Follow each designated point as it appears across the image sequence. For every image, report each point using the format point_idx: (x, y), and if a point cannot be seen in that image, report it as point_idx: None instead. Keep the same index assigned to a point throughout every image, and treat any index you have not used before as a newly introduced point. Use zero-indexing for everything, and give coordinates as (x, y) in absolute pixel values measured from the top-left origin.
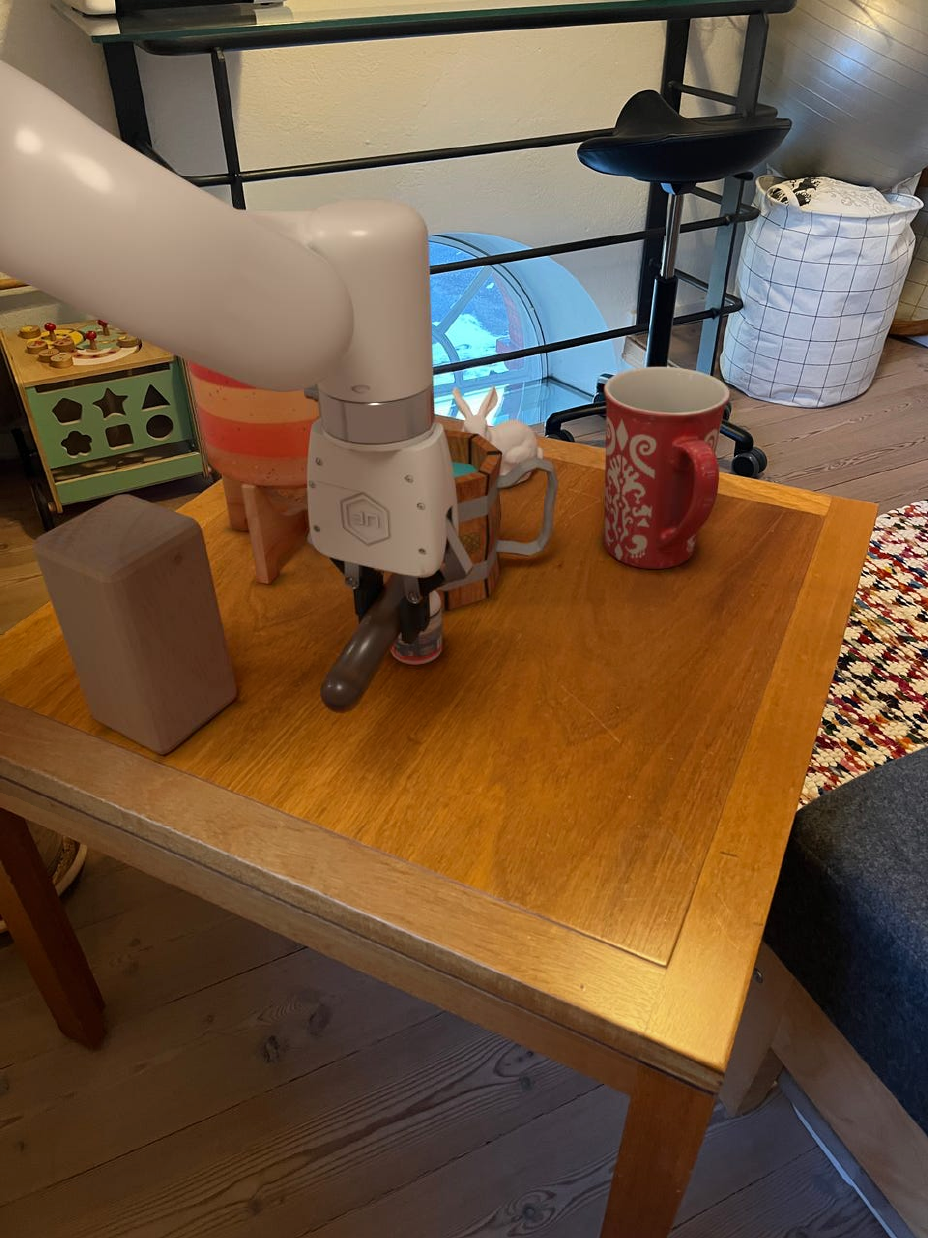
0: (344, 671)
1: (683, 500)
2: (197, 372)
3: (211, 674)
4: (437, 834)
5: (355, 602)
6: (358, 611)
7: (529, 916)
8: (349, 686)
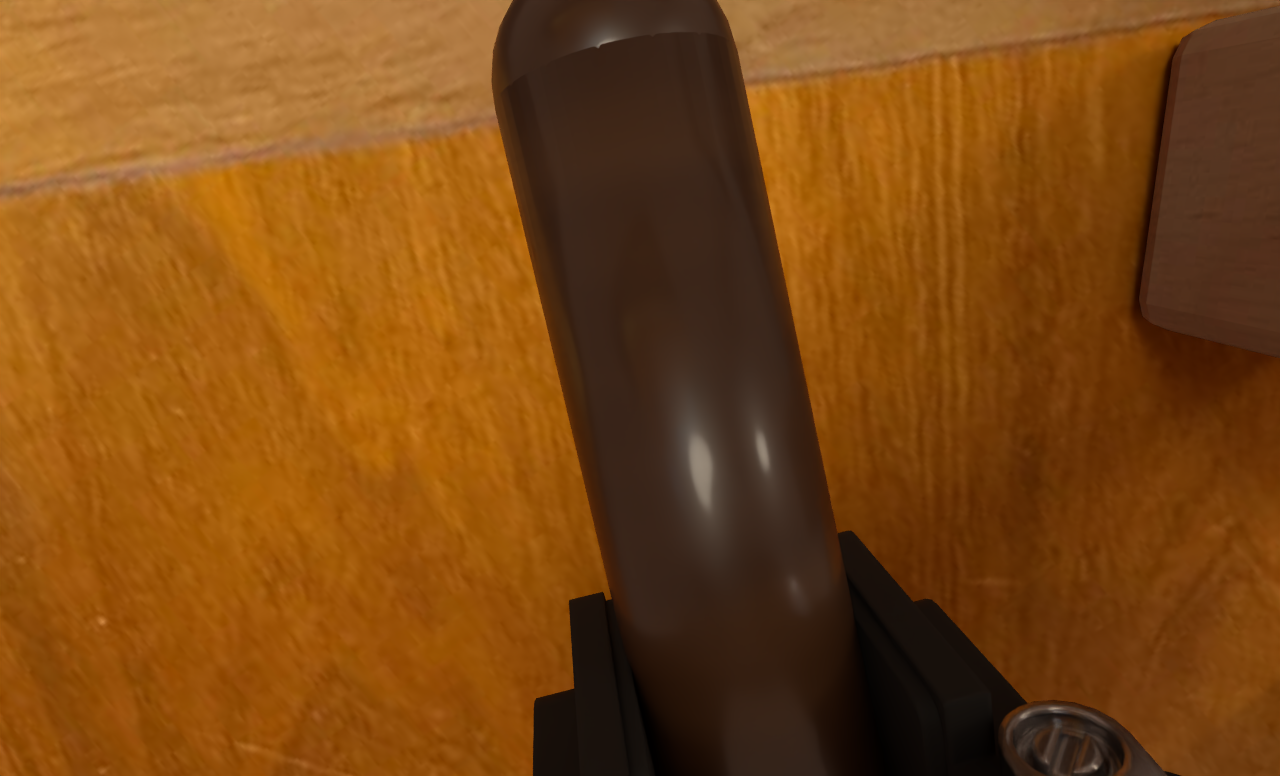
0: (622, 115)
1: None
2: None
3: (1261, 261)
4: (403, 253)
5: (965, 646)
6: (903, 600)
7: (37, 173)
8: (532, 58)
